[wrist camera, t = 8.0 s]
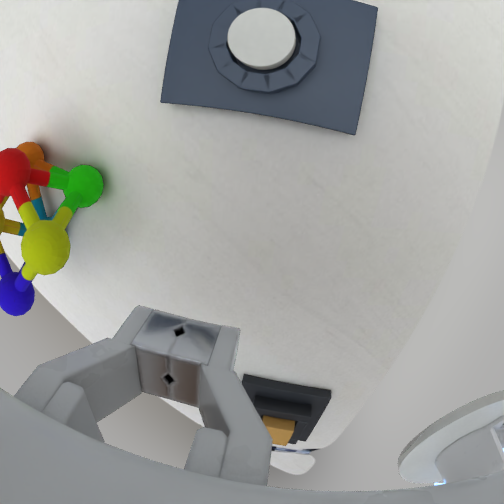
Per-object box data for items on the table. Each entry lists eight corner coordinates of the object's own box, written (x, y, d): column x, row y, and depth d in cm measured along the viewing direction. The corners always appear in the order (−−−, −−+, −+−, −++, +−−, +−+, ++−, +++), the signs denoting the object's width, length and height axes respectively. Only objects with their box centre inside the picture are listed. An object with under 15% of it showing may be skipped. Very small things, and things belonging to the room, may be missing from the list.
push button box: (372, 15, 17) (384, -1, 14) (350, 133, 22) (360, 137, 18) (192, -9, 18) (173, -26, 15) (171, 103, 23) (148, 102, 19)
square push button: (331, 390, 33) (331, 410, 30) (306, 434, 37) (305, 452, 34) (244, 374, 33) (239, 393, 31) (232, 420, 38) (228, 438, 35)
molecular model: (21, 139, 26) (-26, 102, 13) (110, 177, 31) (114, 160, 18) (-22, 265, 25) (-82, 304, 12) (65, 302, 31) (47, 365, 18)
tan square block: (295, 419, 32) (294, 431, 30) (287, 434, 33) (286, 446, 32) (263, 413, 32) (261, 426, 31) (258, 429, 34) (256, 440, 32)
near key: (300, 19, 16) (300, 12, 14) (290, 74, 17) (289, 71, 16) (238, 11, 16) (233, 4, 14) (227, 65, 18) (222, 62, 16)
